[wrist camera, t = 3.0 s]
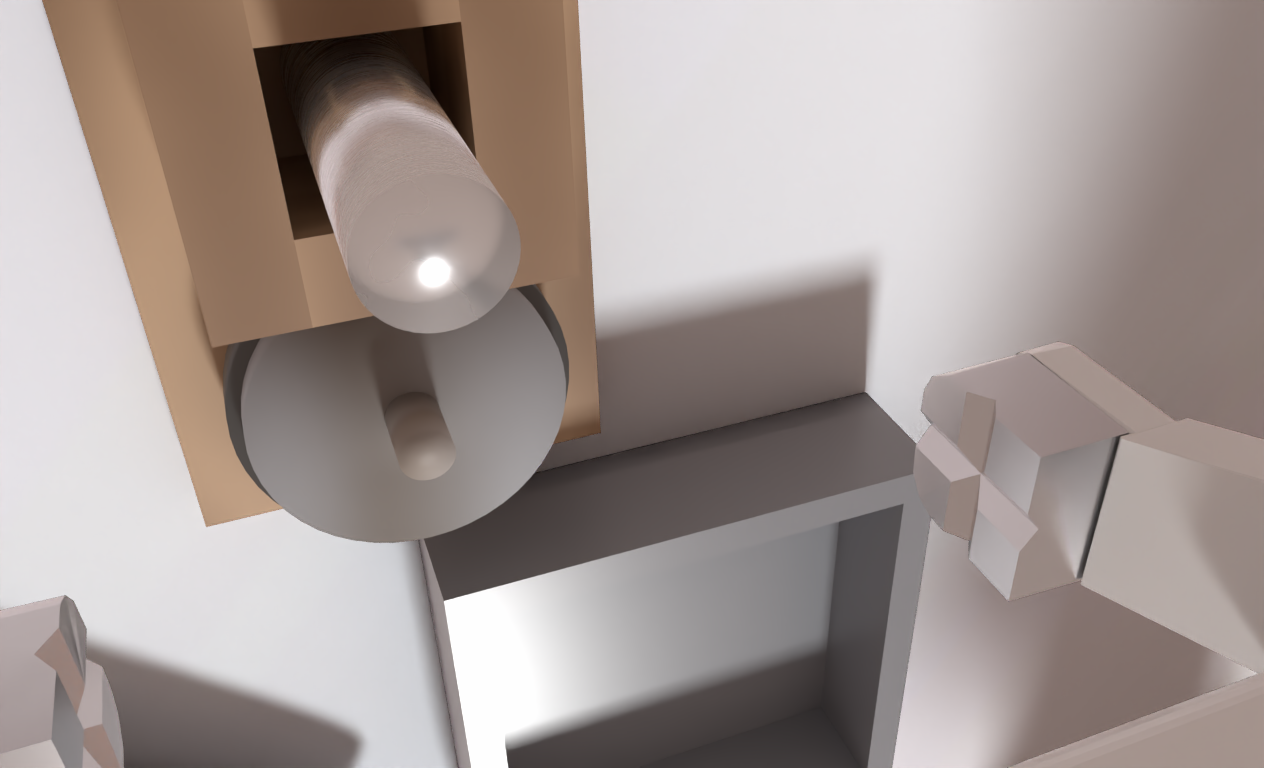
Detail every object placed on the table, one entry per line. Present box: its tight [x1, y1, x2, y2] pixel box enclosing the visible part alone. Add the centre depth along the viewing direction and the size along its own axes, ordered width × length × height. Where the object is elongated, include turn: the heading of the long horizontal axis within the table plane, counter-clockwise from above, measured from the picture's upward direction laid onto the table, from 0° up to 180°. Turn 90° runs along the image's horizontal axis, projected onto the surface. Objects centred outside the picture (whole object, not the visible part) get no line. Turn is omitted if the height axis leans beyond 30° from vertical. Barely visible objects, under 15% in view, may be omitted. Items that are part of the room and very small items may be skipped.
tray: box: [419, 392, 931, 768], centre depth 35 cm, size 14×14×4 cm
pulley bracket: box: [42, 0, 601, 543], centre depth 24 cm, size 10×14×6 cm
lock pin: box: [280, 31, 521, 333], centre depth 19 cm, size 2×2×9 cm
